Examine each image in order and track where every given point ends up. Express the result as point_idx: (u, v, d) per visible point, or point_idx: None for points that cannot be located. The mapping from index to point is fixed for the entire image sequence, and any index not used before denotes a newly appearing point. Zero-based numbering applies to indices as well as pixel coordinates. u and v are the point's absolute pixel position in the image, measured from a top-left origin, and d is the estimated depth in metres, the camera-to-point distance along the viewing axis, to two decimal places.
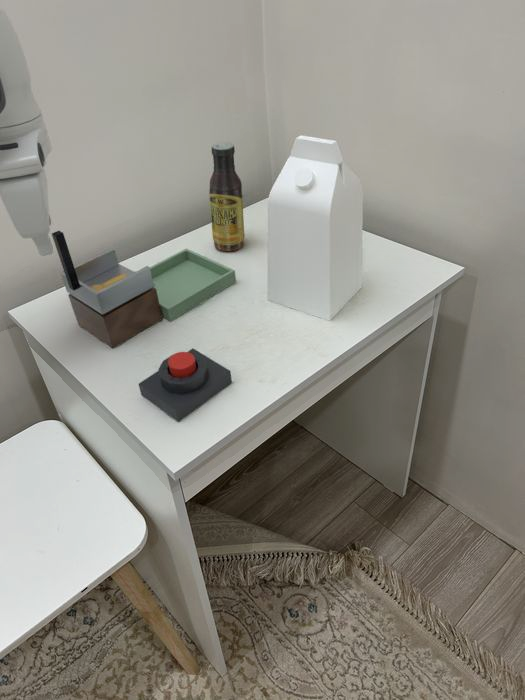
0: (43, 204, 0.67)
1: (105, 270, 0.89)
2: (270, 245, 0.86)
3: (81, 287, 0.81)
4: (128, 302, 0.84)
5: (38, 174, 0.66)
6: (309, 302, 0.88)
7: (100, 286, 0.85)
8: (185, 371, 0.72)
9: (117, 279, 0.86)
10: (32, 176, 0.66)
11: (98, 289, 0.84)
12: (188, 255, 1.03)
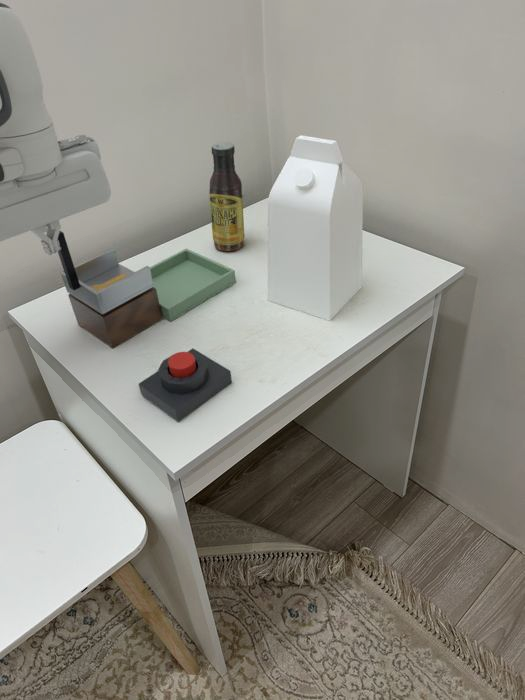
0: None
1: (105, 270, 0.89)
2: (270, 245, 0.86)
3: (81, 286, 0.81)
4: (128, 302, 0.84)
5: None
6: (309, 302, 0.88)
7: (100, 286, 0.85)
8: (185, 371, 0.72)
9: (117, 279, 0.86)
10: None
11: (98, 289, 0.84)
12: (188, 255, 1.03)
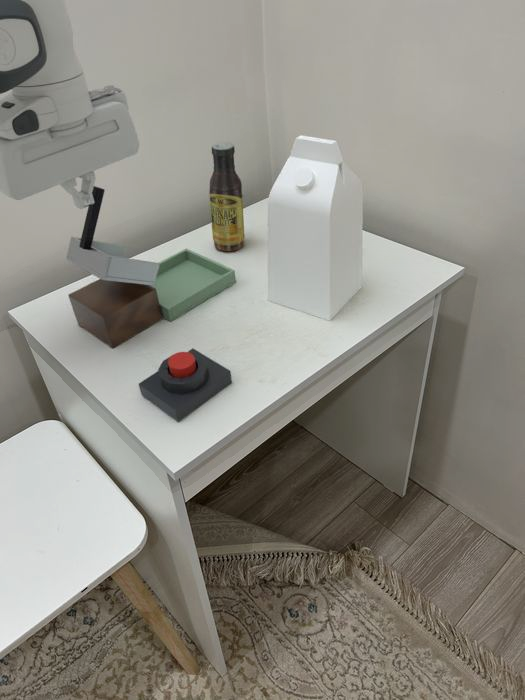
0: (6, 170, 0.65)
1: None
2: (270, 245, 0.86)
3: (91, 249, 0.80)
4: (128, 302, 0.84)
5: (11, 140, 0.64)
6: (309, 302, 0.88)
7: None
8: (185, 371, 0.72)
9: None
10: (5, 141, 0.64)
11: None
12: (188, 255, 1.03)
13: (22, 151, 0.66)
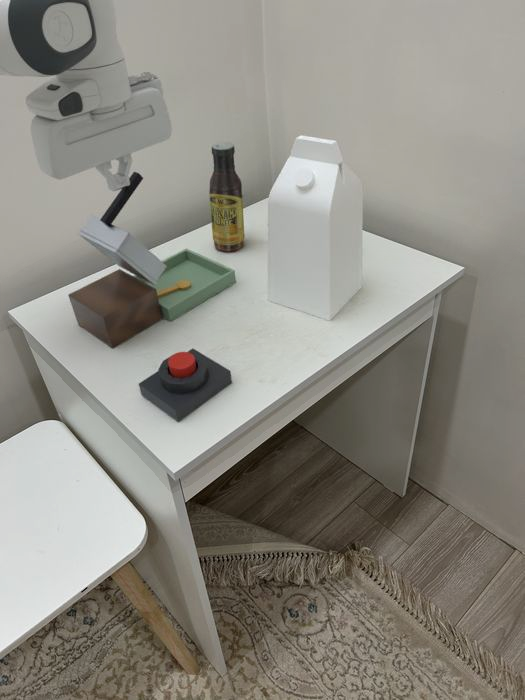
0: (50, 150, 0.68)
1: None
2: (270, 245, 0.86)
3: (110, 226, 0.81)
4: (128, 302, 0.84)
5: (56, 121, 0.67)
6: (309, 302, 0.88)
7: None
8: (185, 371, 0.72)
9: None
10: (50, 121, 0.67)
11: None
12: (188, 255, 1.03)
13: (65, 132, 0.69)
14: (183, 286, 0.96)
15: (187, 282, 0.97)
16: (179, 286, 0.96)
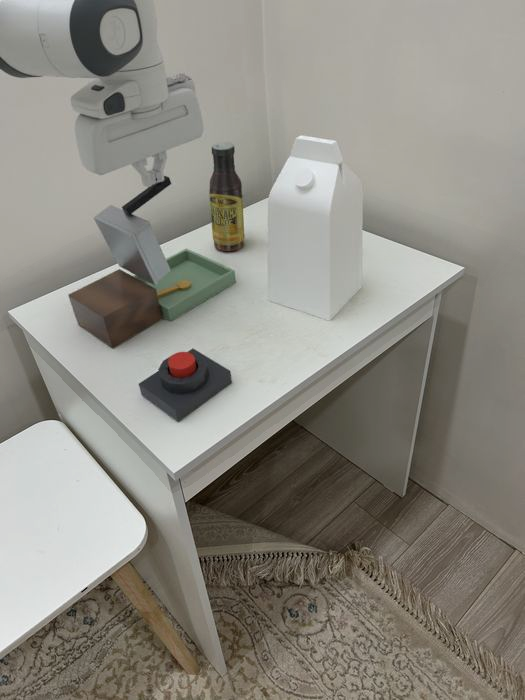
0: (94, 147, 0.72)
1: None
2: (270, 245, 0.86)
3: (130, 215, 0.82)
4: (128, 302, 0.84)
5: (101, 120, 0.71)
6: (309, 302, 0.88)
7: None
8: (185, 371, 0.72)
9: None
10: (95, 120, 0.71)
11: None
12: (188, 255, 1.03)
13: (107, 130, 0.73)
14: (183, 286, 0.96)
15: (187, 282, 0.97)
16: (179, 286, 0.96)
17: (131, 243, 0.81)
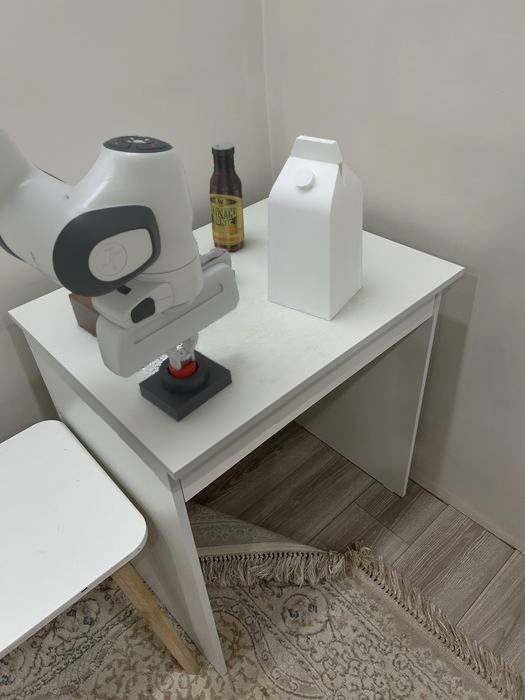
0: (119, 355, 0.62)
1: None
2: (270, 245, 0.86)
3: None
4: None
5: (127, 328, 0.61)
6: (309, 302, 0.88)
7: None
8: (186, 374, 0.73)
9: None
10: (120, 327, 0.61)
11: None
12: None
13: (134, 332, 0.63)
14: None
15: None
16: None
17: None
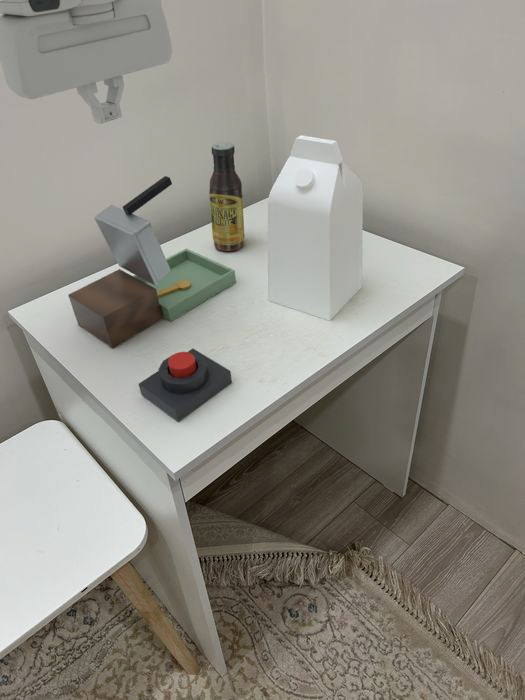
0: (19, 57, 0.54)
1: None
2: (270, 245, 0.86)
3: (130, 215, 0.82)
4: (128, 302, 0.84)
5: (26, 18, 0.53)
6: (309, 302, 0.88)
7: None
8: (185, 371, 0.72)
9: None
10: (18, 19, 0.53)
11: None
12: (188, 255, 1.03)
13: (38, 36, 0.55)
14: (183, 286, 0.96)
15: (187, 282, 0.97)
16: (179, 286, 0.96)
17: (131, 243, 0.81)
